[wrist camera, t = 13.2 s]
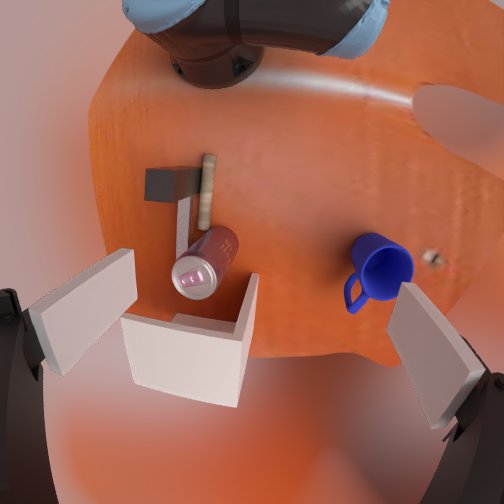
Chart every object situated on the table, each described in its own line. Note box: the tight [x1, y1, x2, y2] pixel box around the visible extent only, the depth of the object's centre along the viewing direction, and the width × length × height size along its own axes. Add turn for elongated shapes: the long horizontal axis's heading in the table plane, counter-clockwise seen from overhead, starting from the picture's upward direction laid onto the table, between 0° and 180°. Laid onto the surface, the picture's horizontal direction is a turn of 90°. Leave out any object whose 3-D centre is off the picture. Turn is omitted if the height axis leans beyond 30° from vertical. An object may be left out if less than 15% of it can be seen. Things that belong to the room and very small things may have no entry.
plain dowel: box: [198, 154, 217, 230], centre depth 42 cm, size 12×2×2 cm, turn 173°
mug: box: [344, 233, 414, 314], centre depth 39 cm, size 8×12×10 cm
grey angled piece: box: [144, 166, 202, 261], centre depth 39 cm, size 17×8×12 cm, turn 174°
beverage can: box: [172, 226, 239, 300], centre depth 39 cm, size 6×6×15 cm
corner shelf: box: [120, 273, 259, 407], centre depth 40 cm, size 12×15×19 cm
